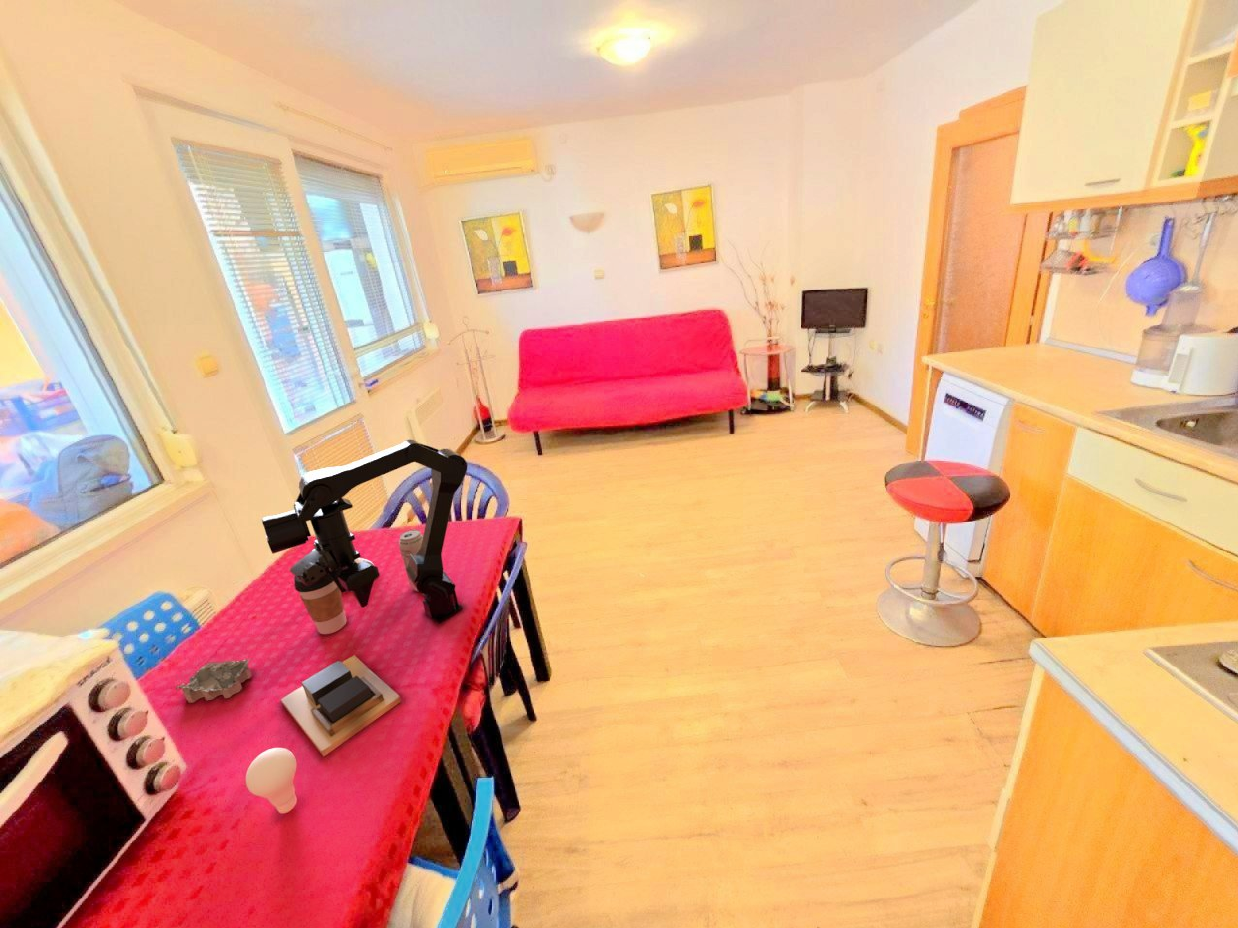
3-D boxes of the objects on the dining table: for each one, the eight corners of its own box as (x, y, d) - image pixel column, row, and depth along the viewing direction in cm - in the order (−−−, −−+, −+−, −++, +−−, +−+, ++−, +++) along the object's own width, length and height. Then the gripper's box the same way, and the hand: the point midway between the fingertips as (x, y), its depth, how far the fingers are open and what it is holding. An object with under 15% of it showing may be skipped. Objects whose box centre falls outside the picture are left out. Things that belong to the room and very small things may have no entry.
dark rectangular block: (361, 689, 96) (356, 675, 95) (374, 701, 93) (369, 686, 92) (323, 714, 91) (317, 699, 90) (335, 727, 88) (329, 713, 87)
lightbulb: (277, 837, 72) (251, 784, 68) (257, 816, 76) (231, 764, 72) (319, 800, 77) (297, 748, 73) (299, 782, 80) (276, 731, 76)
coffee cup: (334, 639, 112) (314, 583, 107) (303, 636, 114) (281, 580, 109) (360, 615, 120) (342, 561, 114) (330, 612, 122) (311, 559, 116)
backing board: (355, 659, 106) (349, 643, 104) (401, 701, 94) (396, 683, 93) (282, 703, 96) (274, 687, 94) (323, 756, 84) (316, 738, 83)
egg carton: (179, 704, 98) (170, 688, 96) (207, 675, 105) (199, 660, 103) (234, 699, 98) (226, 683, 96) (258, 670, 105) (251, 654, 103)
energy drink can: (438, 586, 128) (425, 534, 123) (414, 595, 125) (399, 543, 120) (432, 576, 133) (419, 526, 128) (408, 585, 130) (394, 534, 125)
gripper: (270, 538, 100) (295, 603, 105) (308, 567, 88) (333, 638, 94) (328, 515, 107) (349, 577, 113) (370, 539, 96) (390, 606, 102)
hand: (354, 598), depth 105 cm, fingers open, 9 cm apart
